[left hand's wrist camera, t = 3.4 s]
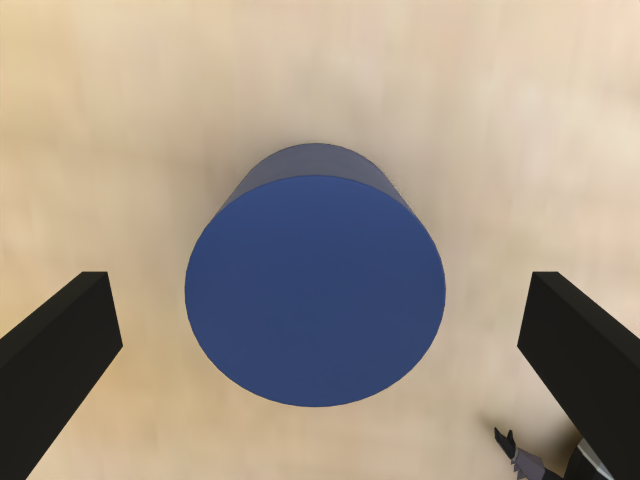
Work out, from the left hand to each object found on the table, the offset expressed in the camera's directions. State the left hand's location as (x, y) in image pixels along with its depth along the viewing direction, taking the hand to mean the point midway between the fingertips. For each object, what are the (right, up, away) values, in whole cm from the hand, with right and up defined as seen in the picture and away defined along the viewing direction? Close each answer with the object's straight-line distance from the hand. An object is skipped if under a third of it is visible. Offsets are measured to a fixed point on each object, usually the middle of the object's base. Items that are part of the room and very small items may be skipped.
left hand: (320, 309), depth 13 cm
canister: (0, +3, +8) cm, 9 cm away
